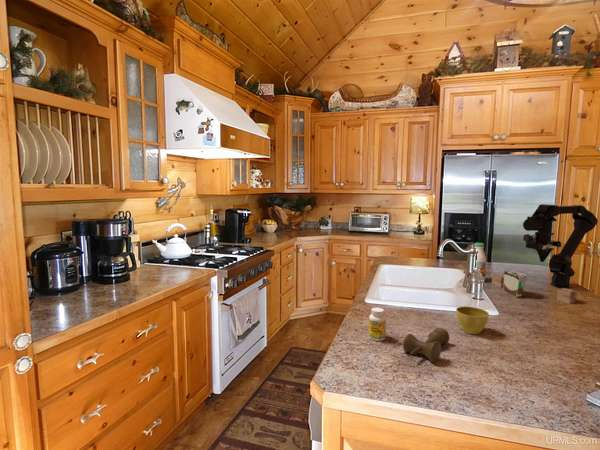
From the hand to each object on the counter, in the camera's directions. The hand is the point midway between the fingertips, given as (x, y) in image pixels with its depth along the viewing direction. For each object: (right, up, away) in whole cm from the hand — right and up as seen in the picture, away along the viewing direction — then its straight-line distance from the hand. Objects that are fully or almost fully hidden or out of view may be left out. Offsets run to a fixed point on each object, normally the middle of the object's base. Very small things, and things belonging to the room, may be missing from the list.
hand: (542, 261), depth 171 cm
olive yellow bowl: (-60, -19, -51) cm, 80 cm away
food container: (-19, -14, -10) cm, 25 cm away
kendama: (-80, -21, -66) cm, 106 cm away
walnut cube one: (-18, -13, +5) cm, 22 cm away
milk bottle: (-25, -12, +14) cm, 31 cm away
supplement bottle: (-93, -19, -56) cm, 111 cm away
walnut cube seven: (-2, -15, -18) cm, 24 cm away
